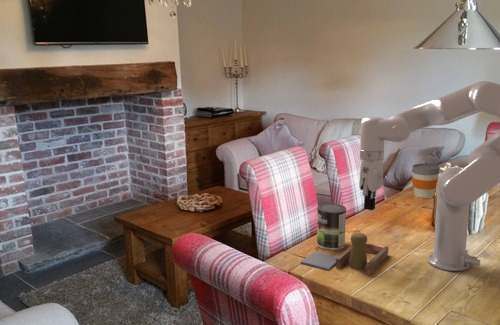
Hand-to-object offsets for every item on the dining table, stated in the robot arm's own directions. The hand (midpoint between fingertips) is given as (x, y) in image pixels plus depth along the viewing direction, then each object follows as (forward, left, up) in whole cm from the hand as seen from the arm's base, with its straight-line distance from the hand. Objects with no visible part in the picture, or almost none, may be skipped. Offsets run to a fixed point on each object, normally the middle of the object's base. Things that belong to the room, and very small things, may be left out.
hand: (369, 208), depth 152 cm
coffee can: (+15, -3, -17) cm, 23 cm away
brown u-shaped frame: (0, +5, -17) cm, 18 cm away
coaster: (+11, +12, -17) cm, 24 cm away
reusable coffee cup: (+3, -83, -17) cm, 84 cm away
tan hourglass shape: (0, +9, -17) cm, 19 cm away
